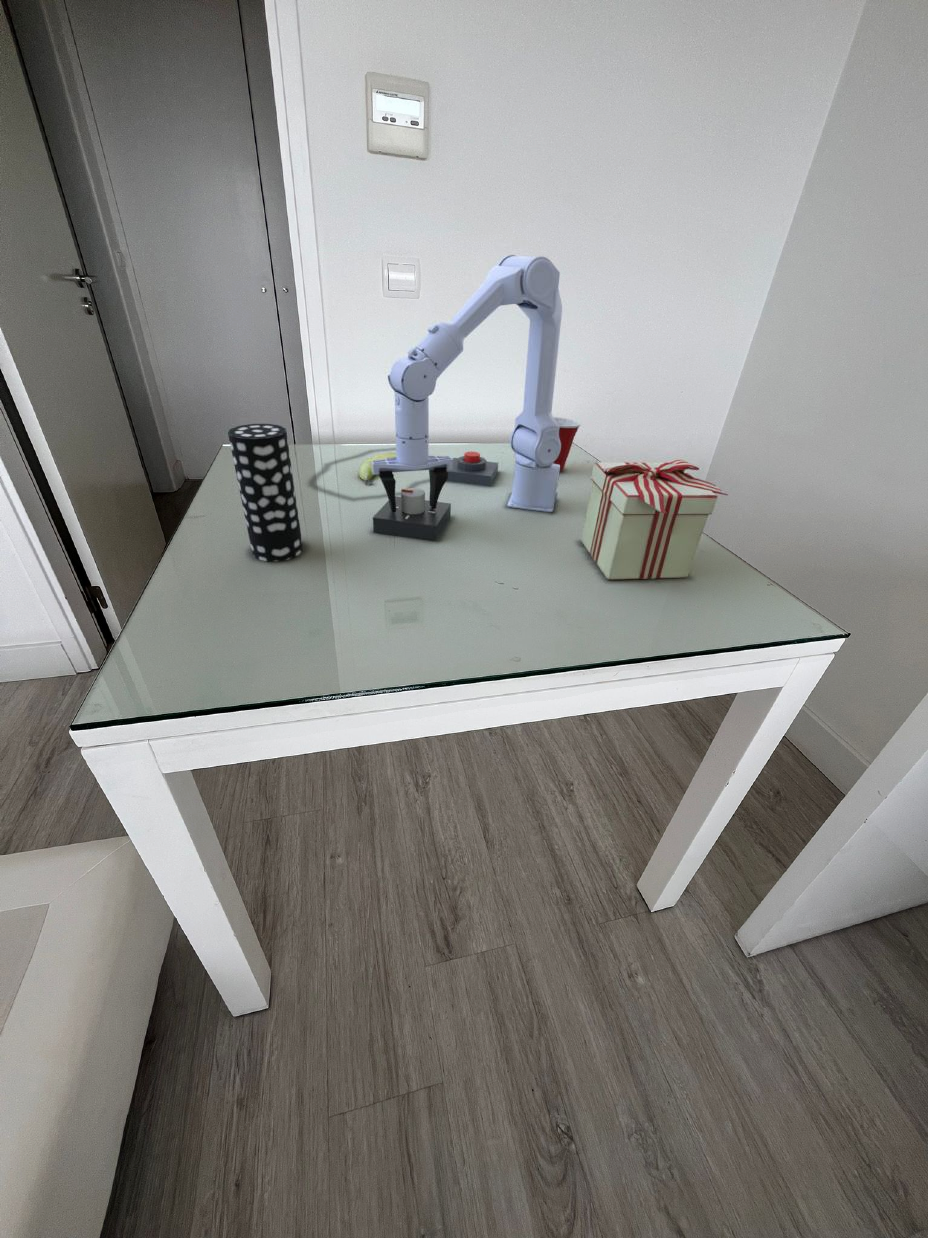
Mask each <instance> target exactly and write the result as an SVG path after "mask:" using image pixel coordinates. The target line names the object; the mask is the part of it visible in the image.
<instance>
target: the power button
mask: <svg viewBox="0 0 928 1238" xmlns="http://www.w3.org/2000/svg"><path fill="white" fill-rule="evenodd" d="M463 456H464V461H465V462H469V463H478V462H480V457H481V454H480V452H477V451H466V452H464V455H463Z"/></svg>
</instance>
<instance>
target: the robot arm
mask: <svg viewBox="0 0 928 1238" xmlns="http://www.w3.org/2000/svg"><path fill="white" fill-rule="evenodd" d="M560 275H561V272H560V271H559V269H558V268H557V267H556V265H554V263H553V262H552V261H551V259H549V258H548V257H546V256H543V255H542V256H541V255H539V256H522V255H521V256H520V255H514V254H508V255H506V256H504V257H502V258H501V260H500V261H499V262H498V264H497V265H495V266H493V267H492V268H491V269H489V271H488V274H487V276H486V278H485V279H484V281H483V282H482V283H481V284H480V285H479V286H478V288H477V289H476V290H475V291H474V293H472V295H471V296H470V297H469V299H467V301H466V302H465V303H464V304H463V306H462V307H461V308H460V309H459V310H458V312H457V313H456V314H455V315H454V316H453V317H452V318H451V320H450V321H448V322H446V321H438V322H437V324H434V323H432V324H430V326H429V327H428V328H427V332H428V333H427V334H426V335H425V336H424V337H423V338H422V339H421V340H420V342H419V343H417V344H416V345H415V347H414V348H413V347H411V348H410V349H409V350H408V351H407V354H408V355H407V356H405V357H399V358H398V359H397V360H396V361H395V362H394V363H393V364H392V366H391V368H390V370H391V371H390V372H389V374H388V375H387V380H388V384H389V387H390V388H391V389H392V390H393V392H394V423H395V453H396V457H393V458H387V459H382V460H375V461H371V466H372V473H373V474H374V475H375V476H378V477H379V479H380V482H381V483H382V485H383V488H384V491H385V493H386V495H387V499H388V500H389V504H390V509H391V511H392V512H396V501H395V496H396V483H397V480H396V479H395V474H394V473H403V472H405V473H406V472H419V471H428V475H429V476H428V477H429V498H428V499H429V500H428V501H430V506H431V507H432V509H436V505H437V502H439V497H440V494H441V492H442V490H443V488H444V486H445V484H446V482H448V481H447V479H448V472H447V470H452V469H453V458H452V457H451V456H450V455H447V456H446V455H442V456H441V455H429V453H430V452H429V449H430V447H429V444H430V443H429V442H430V438H429V437H430V436H429V435H430V433H429V432H430V431H429V430H430V429H429V428H430V427H429V426H430V425H429V423H430V421H429V420H430V418H429V417H430V412H429V411H430V403H429V401H430V398H429V397H430V396H432V395H433V394H434V392H435V390H436V389H435V388H436V386H437V380H438V378H439V377H440V376H441V375H442V374H443V373H444V372H445V371H446V370H447V368H448V367H449V366H451V365H452V363H453V362H454V361H455V360H456V359H457V358H458V357H459V356H460V355H461V354H462V353H463V352H464V347H465V346H464V345H465V339H466V338H467V337H468V336H469V335H470V334H472V332H473V331H475V330H476V329H477V328H478V327H479V326H480V325H481V324H482V323H483V322H484V321H486V320H487V318H488V317H489V316H491V315H492V313H494V312H495V311H496V310H497V309H498V308H499V307H502V306H509V305H516V306H518V308H519V309H520V311H522V312H523V313H524V315H525V316H526V317H527V318H528V320H529V326H528V327H529V328H528V340H527V341H528V342H527V354H526V367H525V380H524V393H523V404H522V405H523V407H522V408H523V409H522V411H521V412H520V413H519V414H518V415H517V416H516V417H515V419H514V427H513V430H512V431H511V434H510V437H509V445H510V448H511V450H512V451H513V452H514V454H513V455H514V456H513V458H514V472H513V481H512V489H511V490H512V492H511V495H510V497H509V499H508V502H507V505H506V506H507V507H508V508H514V509H522V510H528V511H529V510H530V511H537V512H544V513H553V512H554V507H555V503H556V501H557V499H558V495H559V493H558V492H559V491H558V485H559V478H560V472H559V471H560V465H558V464H553V462H554V461H555V460H556V459H557V457H558V456H559V453H560V450H561V442H560V438H559V425H558V424H557V422H556V420H555V418H554V417H555V416H554V415H553V411H552V410H553V403H554V402H553V401H554V391H555V382H556V373H557V364H558V355H559V346H560V345H559V344H560V336H561V326H562V316H563V303H562V298H561V294H560V290H559V285H560Z"/></svg>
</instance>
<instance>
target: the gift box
mask: <svg viewBox="0 0 928 1238" xmlns="http://www.w3.org/2000/svg"><path fill="white" fill-rule="evenodd" d="M685 470H691V471H699V470H700V468H699V467H698V466H696V465H695V464H692V463H690V462H688V461H686V460H684V459H676V460H673V461H669V462H666V461H664V462H643V461H642V462H639V461H638V462H637V461H636V462H630V461H628V462H625V461H623V462H622V461H621V462H609V461H607V462H606V461H605V462H601V461H600V462H598V461H597V462H594V463H593V468H592V473H591V478H590V480H591V481H592V484H591V490H590V494H589V499H588V504H587V509H586V512H585V513H586V514H585V518H584V524H583V530H582V533H581V538H580V541H581V543H582V544H583V546H584V547H585V549H586V550H587V552H588V553H589V554H590V556H591V558H592V559H593V561H594V563H595V564H596V565H597V567H598V568H599V569H600V571H601V572H602V573H603V575H604V576H605V578H606V579H607V580H614V581H617V580H648V579H649V580H655V579H656V580H657V579H683V578H684V579H685V578H688V576H689V573H690V570H691V568H692V566H693V565H692V564H693V561H694V558H695V556H696V553H697V551H698V547H699V544H700V542H701V538H702V535H703V532H704V529H705V526H706V523H707V522H708V521H707V520H708V518H709V516H710V515H713V512H714V509H715V506H716V504H717V500H718V495H717V494H719V495H722V496H723V495H724V496H729V494H728V493H726V492H724V491H723V490H721V488H719V487H718V486H717V485H716V484H715V483H711V482H710V481H706V480H703V479H700V478H696V477H694V476H693V475H691V474H689V473H688V472H687V471H685Z"/></svg>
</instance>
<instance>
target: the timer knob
mask: <svg viewBox="0 0 928 1238" xmlns="http://www.w3.org/2000/svg"><path fill="white" fill-rule="evenodd" d="M400 497H401V510H402V512H404V513H406V514H420V513H423V512H424V511H425V500H426V492H425V490H424V489H421V488H417V487H407V488H401V491H400Z"/></svg>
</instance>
